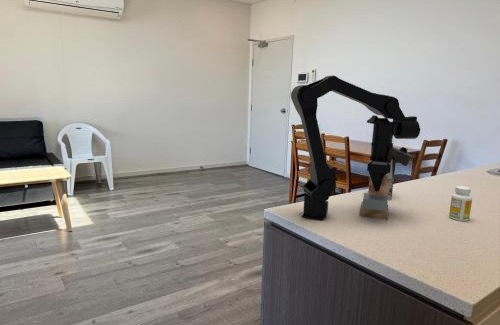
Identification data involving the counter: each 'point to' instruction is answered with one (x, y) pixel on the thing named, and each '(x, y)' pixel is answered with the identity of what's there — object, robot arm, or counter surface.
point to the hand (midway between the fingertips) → (377, 189)
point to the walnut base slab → (373, 213)
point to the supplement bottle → (461, 204)
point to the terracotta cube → (382, 187)
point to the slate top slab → (375, 202)
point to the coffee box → (390, 180)
